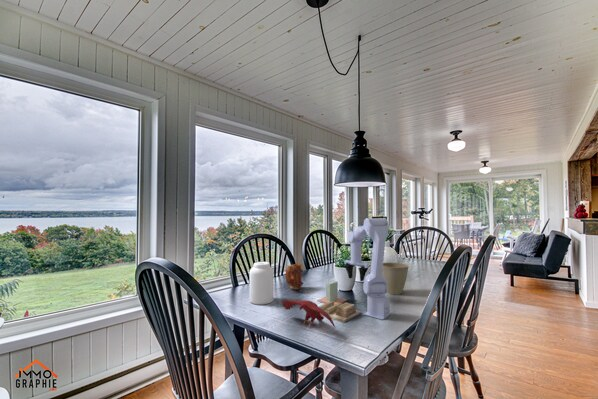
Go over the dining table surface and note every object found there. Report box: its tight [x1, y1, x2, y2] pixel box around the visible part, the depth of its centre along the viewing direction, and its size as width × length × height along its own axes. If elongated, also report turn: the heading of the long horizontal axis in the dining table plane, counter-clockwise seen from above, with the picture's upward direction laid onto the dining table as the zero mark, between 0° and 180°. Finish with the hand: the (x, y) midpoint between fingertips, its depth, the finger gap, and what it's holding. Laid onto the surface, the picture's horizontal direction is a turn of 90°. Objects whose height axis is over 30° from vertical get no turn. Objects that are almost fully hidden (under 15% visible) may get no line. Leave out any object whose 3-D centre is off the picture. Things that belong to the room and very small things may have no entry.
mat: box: [316, 296, 348, 305], centre depth 154 cm, size 11×11×1 cm
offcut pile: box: [336, 302, 357, 318], centre depth 133 cm, size 5×9×3 cm, turn 139°
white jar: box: [249, 261, 275, 305], centre depth 154 cm, size 12×12×20 cm
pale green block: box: [325, 280, 339, 302], centre depth 154 cm, size 2×7×9 cm, turn 139°
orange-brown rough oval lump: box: [285, 263, 304, 290], centre depth 175 cm, size 15×8×15 cm, turn 149°
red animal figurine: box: [282, 299, 336, 328], centre depth 123 cm, size 28×9×15 cm
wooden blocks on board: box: [318, 301, 361, 323], centre depth 136 cm, size 16×14×3 cm
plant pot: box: [382, 262, 409, 296], centre depth 168 cm, size 15×15×16 cm
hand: (356, 279), depth 157 cm, fingers open, 7 cm apart
